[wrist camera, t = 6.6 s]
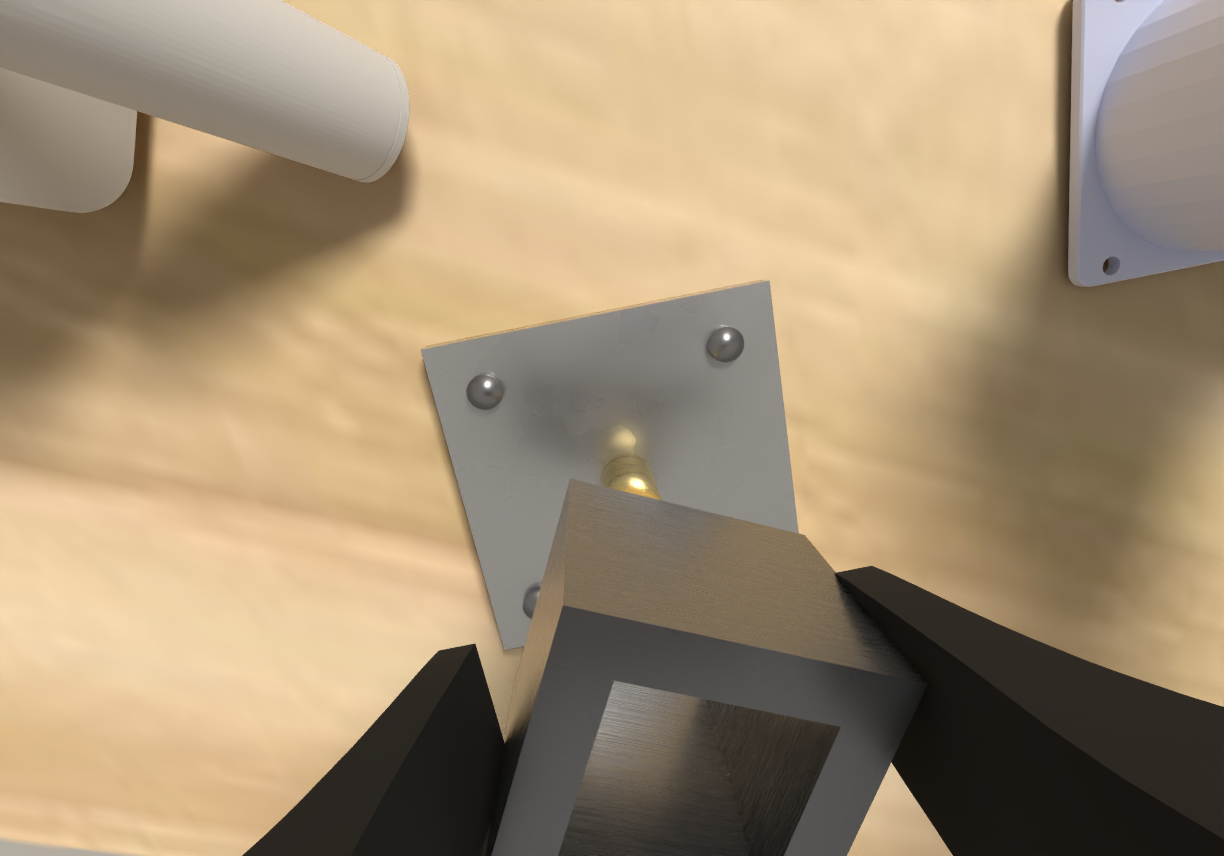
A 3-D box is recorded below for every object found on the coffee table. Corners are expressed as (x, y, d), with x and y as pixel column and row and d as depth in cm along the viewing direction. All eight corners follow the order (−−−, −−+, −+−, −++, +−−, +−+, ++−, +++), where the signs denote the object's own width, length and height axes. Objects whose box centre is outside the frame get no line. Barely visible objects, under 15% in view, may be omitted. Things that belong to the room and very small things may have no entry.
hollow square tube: (804, 535, 11) (927, 684, 7) (728, 730, 12) (799, 954, 8) (569, 478, 10) (562, 605, 6) (513, 688, 11) (476, 904, 7)
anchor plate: (760, 280, 17) (829, 284, 13) (796, 578, 20) (864, 677, 15) (427, 345, 17) (368, 375, 13) (507, 635, 20) (483, 751, 15)
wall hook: (405, 292, 16) (-46, 269, 7) (92, 201, 18) (-665, 72, 8) (462, -34, 15) (-53, -709, 5) (107, -110, 16) (-862, -767, 6)
